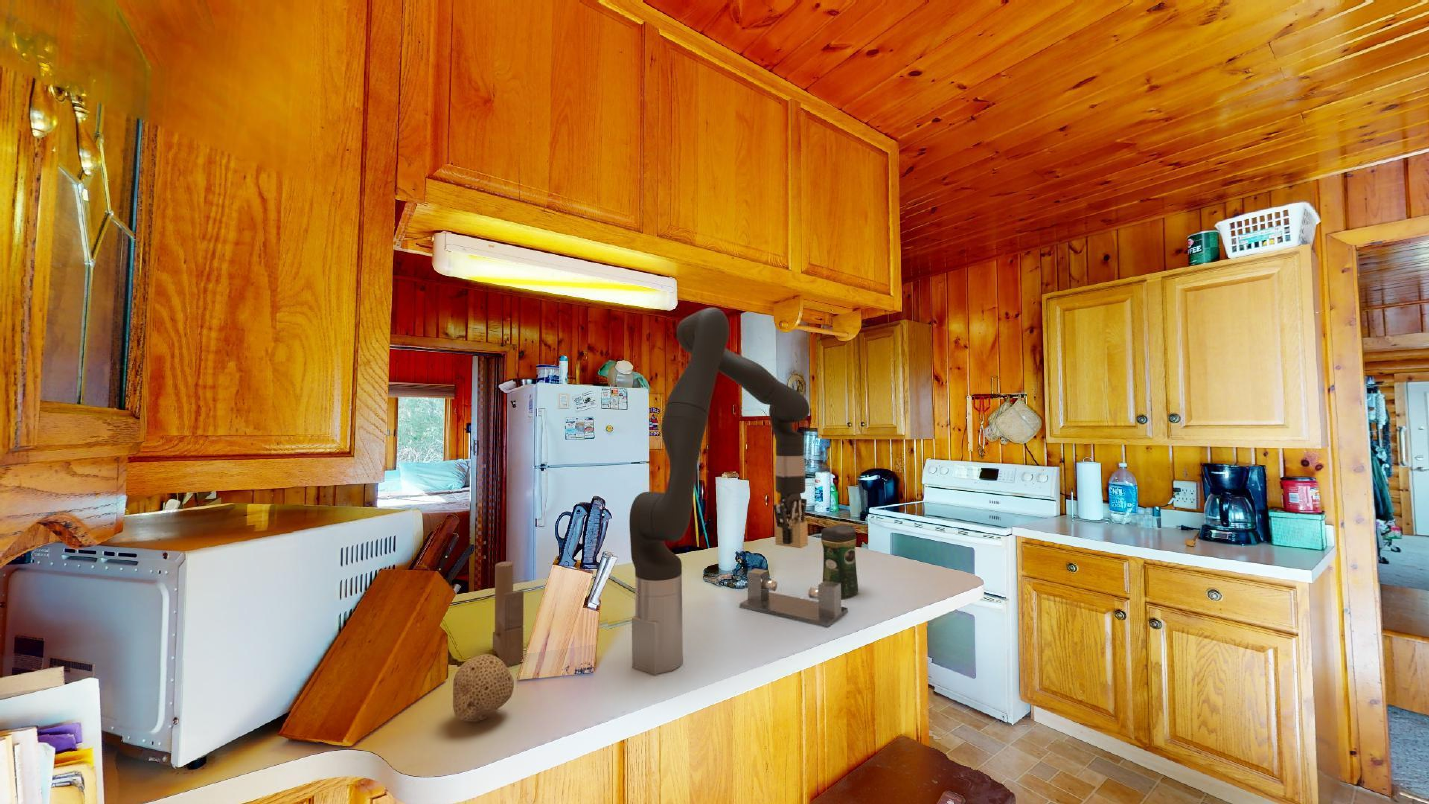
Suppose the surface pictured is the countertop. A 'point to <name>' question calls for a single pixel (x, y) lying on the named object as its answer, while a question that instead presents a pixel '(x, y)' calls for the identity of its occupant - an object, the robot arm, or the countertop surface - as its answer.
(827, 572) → the coffee jar
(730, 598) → the countertop surface
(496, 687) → the natural sponge
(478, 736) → the countertop surface
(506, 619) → the wooden block
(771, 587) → the stand
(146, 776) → the countertop surface
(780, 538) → the block
